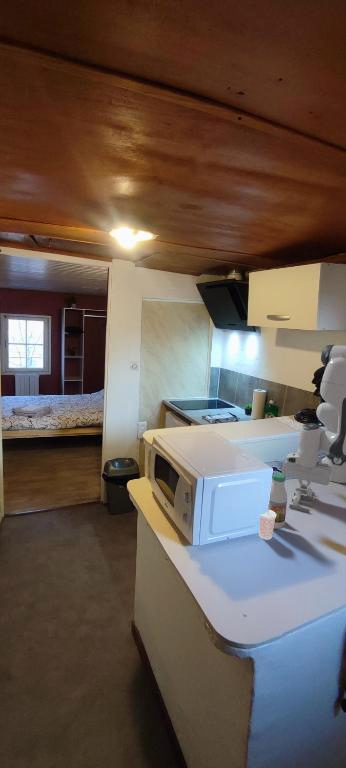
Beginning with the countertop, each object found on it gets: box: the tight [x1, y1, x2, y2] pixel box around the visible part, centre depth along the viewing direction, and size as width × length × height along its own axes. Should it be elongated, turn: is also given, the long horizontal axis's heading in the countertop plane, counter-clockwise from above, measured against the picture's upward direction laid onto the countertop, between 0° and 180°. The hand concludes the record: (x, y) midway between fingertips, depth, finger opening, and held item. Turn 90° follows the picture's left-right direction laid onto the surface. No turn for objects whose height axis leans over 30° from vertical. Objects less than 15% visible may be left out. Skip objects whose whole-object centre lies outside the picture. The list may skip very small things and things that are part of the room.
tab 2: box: [292, 495, 299, 506], centre depth 153 cm, size 3×2×4 cm, turn 152°
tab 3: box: [306, 486, 314, 497], centre depth 162 cm, size 3×2×4 cm, turn 152°
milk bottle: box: [269, 472, 288, 530], centre depth 138 cm, size 8×8×20 cm
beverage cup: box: [258, 500, 276, 541], centre depth 130 cm, size 6×6×14 cm
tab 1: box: [294, 490, 302, 500], centre depth 158 cm, size 3×2×4 cm, turn 153°
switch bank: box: [288, 487, 316, 514], centre depth 158 cm, size 24×9×2 cm, turn 153°
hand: (303, 488), depth 163 cm, fingers closed
